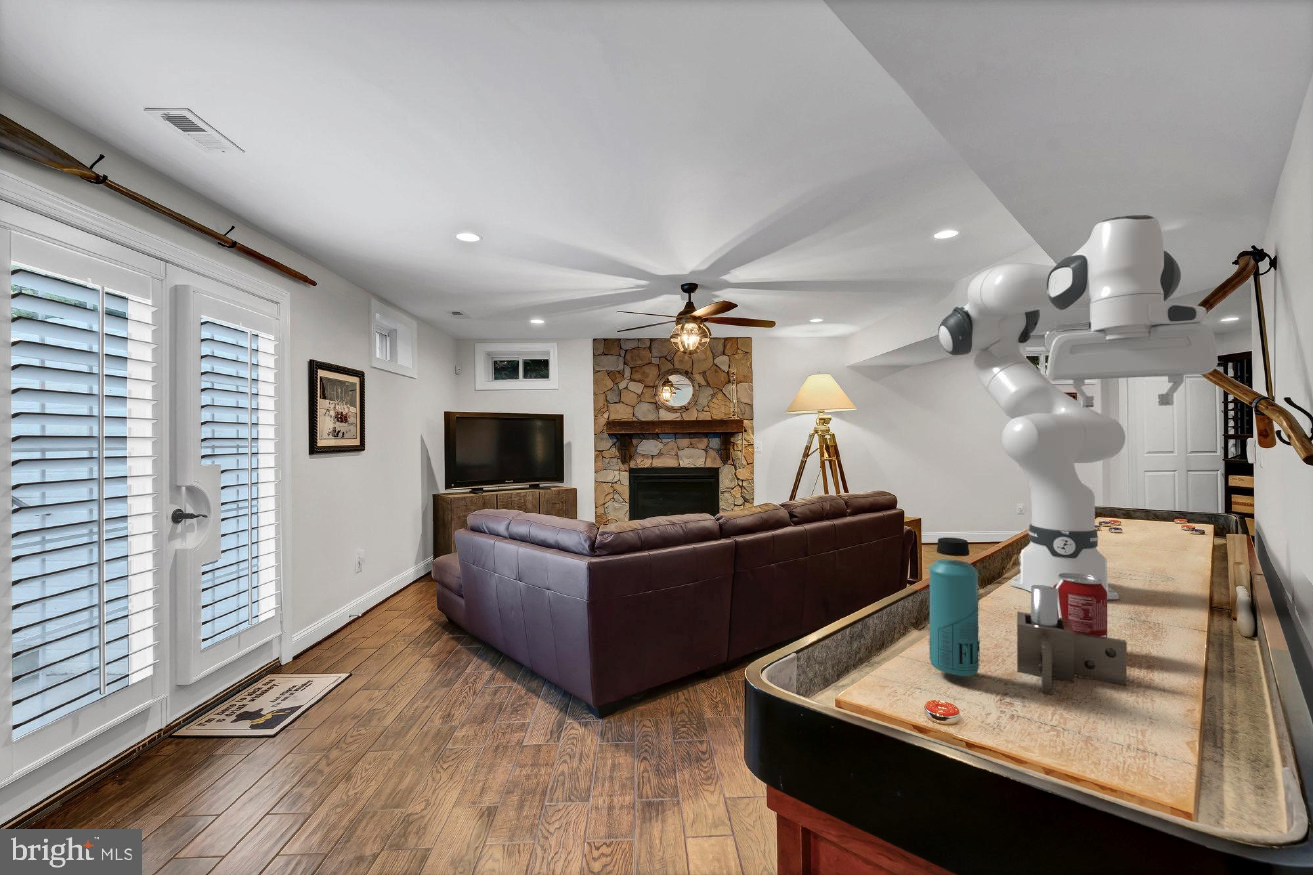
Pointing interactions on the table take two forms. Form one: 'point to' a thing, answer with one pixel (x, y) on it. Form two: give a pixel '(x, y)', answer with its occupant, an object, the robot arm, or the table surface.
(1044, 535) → the robot arm
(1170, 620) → the table surface
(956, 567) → the beverage bottle
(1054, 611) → the pin
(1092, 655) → the grey metal bracket
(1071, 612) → the soda can
